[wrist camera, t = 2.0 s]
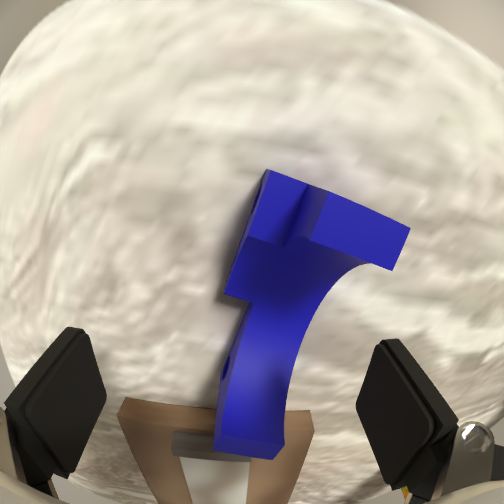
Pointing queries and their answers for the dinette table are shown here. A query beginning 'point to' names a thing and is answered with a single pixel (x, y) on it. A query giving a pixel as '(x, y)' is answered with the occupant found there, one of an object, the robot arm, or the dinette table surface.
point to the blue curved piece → (288, 298)
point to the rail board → (209, 456)
